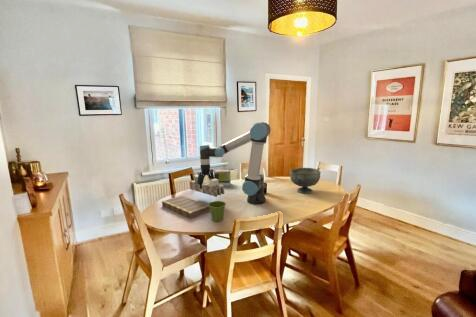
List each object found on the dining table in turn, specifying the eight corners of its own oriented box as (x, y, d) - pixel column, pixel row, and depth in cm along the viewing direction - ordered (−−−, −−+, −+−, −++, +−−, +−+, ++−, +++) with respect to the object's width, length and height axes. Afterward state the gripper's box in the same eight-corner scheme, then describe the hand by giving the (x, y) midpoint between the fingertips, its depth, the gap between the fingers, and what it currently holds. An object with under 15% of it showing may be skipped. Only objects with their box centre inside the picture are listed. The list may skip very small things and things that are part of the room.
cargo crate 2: (218, 184, 195) (218, 179, 195) (213, 186, 192) (213, 180, 191) (214, 183, 199) (214, 178, 198) (209, 185, 195) (209, 179, 194)
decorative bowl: (326, 192, 222) (326, 170, 219) (307, 198, 208) (307, 175, 205) (303, 186, 244) (303, 166, 241) (284, 191, 230) (284, 170, 227)
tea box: (230, 183, 255) (230, 169, 252) (229, 186, 245) (229, 171, 242) (216, 183, 256) (215, 169, 254) (214, 186, 247) (213, 171, 244)
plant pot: (212, 215, 176) (212, 200, 174) (228, 217, 173) (228, 201, 171) (205, 222, 165) (205, 206, 163) (222, 224, 162) (222, 208, 160)
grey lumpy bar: (224, 193, 195) (224, 185, 194) (216, 196, 189) (215, 187, 187) (198, 186, 216) (198, 179, 215) (190, 189, 210) (189, 181, 209)
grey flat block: (210, 211, 184) (210, 205, 183) (190, 218, 171) (190, 213, 170) (181, 200, 207) (181, 195, 207) (162, 206, 194) (161, 201, 194)
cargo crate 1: (203, 181, 208) (202, 175, 207) (198, 182, 204) (198, 177, 203) (199, 180, 211) (199, 175, 210) (194, 181, 207) (194, 176, 207)
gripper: (212, 161, 209) (213, 186, 213) (191, 165, 193) (193, 193, 197) (218, 162, 204) (219, 188, 208) (197, 166, 188) (199, 195, 192)
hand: (206, 190), depth 203 cm, fingers closed on grey lumpy bar, 9 cm apart
